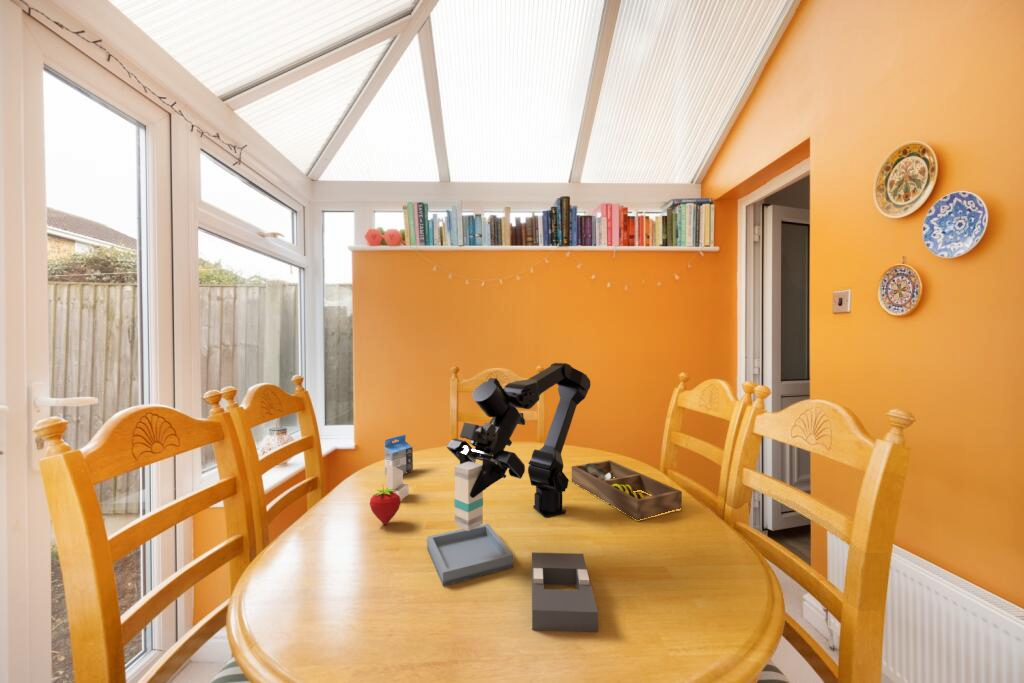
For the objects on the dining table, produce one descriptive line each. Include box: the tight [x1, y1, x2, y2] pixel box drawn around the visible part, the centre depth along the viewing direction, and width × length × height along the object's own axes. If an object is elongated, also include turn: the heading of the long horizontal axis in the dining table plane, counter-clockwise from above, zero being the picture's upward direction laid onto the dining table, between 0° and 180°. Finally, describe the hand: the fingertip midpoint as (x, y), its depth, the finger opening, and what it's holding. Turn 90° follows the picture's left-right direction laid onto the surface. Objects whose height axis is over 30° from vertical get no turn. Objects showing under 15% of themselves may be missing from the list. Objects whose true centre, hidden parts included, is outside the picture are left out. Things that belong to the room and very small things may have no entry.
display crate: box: [571, 459, 683, 520], centre depth 109 cm, size 15×29×5 cm, turn 24°
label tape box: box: [384, 434, 414, 476], centre depth 127 cm, size 9×4×12 cm, turn 147°
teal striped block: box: [454, 461, 484, 531], centre depth 77 cm, size 4×4×12 cm
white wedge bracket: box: [386, 466, 410, 501], centre depth 107 cm, size 4×10×9 cm
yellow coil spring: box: [612, 484, 644, 499], centre depth 103 cm, size 10×5×5 cm, turn 14°
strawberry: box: [369, 484, 402, 525], centre depth 92 cm, size 6×8×10 cm
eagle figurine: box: [584, 462, 614, 481], centre depth 116 cm, size 8×7×9 cm
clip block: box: [531, 551, 599, 633], centre depth 66 cm, size 16×10×4 cm, turn 177°
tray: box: [426, 523, 515, 587], centre depth 78 cm, size 14×14×2 cm
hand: (463, 494), depth 76 cm, fingers closed on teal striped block, 4 cm apart
